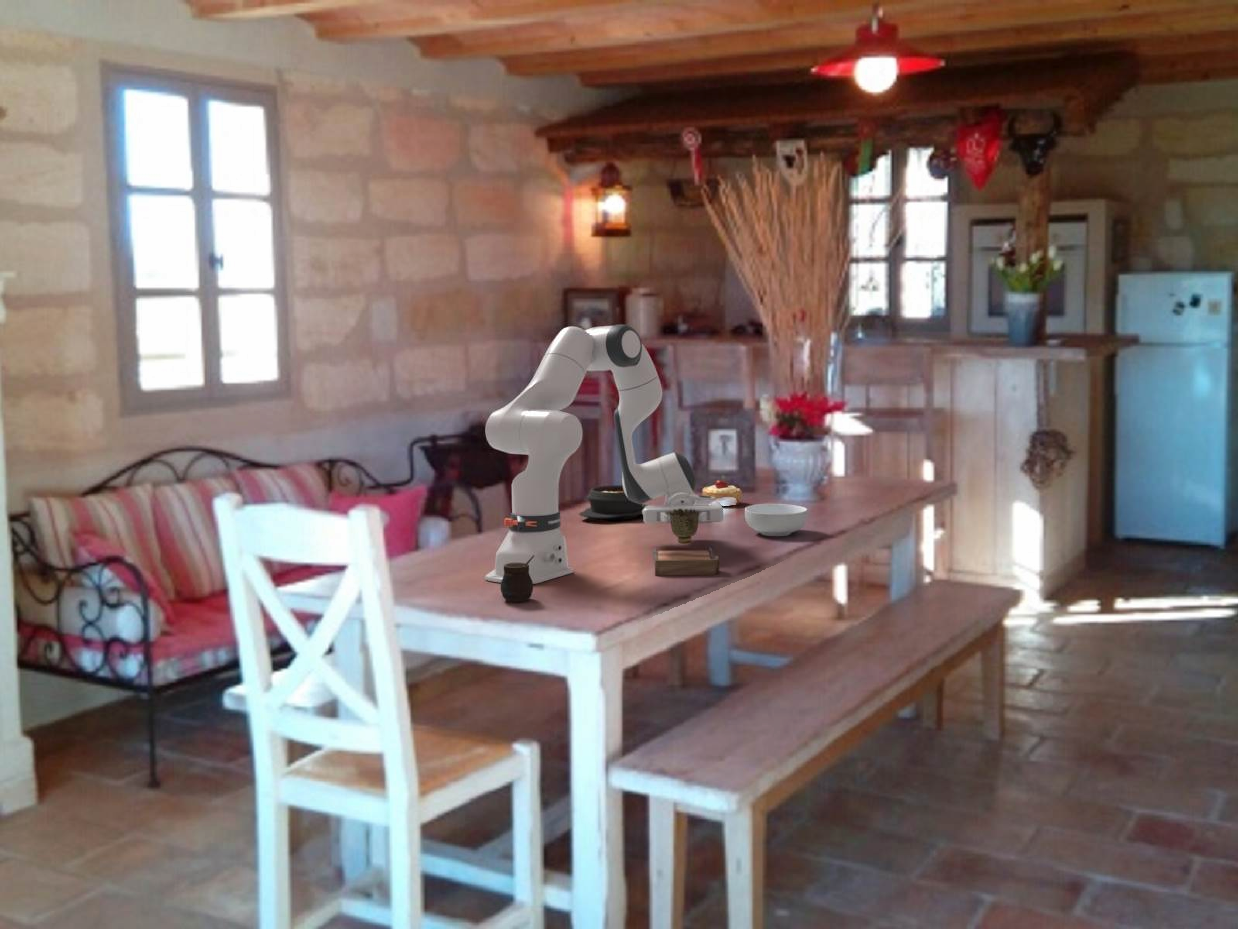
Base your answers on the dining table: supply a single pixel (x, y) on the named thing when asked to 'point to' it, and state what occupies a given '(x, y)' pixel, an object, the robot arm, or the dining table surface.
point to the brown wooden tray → (686, 562)
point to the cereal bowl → (775, 518)
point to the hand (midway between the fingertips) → (684, 519)
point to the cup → (684, 524)
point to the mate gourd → (517, 582)
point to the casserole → (611, 504)
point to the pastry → (722, 490)
